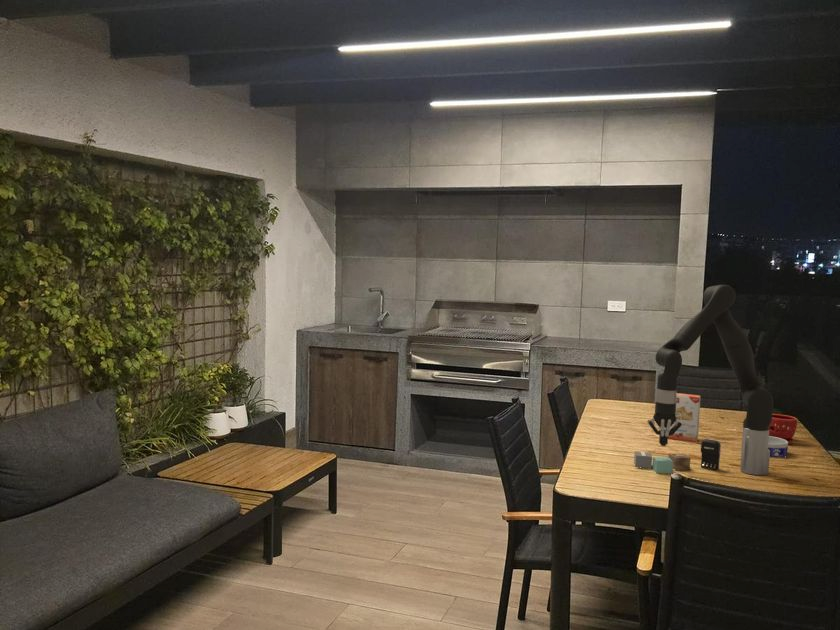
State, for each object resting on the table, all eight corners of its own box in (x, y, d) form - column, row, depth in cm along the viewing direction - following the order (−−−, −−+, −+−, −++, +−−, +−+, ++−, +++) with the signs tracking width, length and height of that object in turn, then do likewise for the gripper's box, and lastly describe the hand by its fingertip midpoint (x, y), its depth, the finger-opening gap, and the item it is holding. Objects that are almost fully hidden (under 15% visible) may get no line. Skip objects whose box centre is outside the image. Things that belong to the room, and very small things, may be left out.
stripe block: (649, 465, 280) (650, 452, 280) (651, 469, 275) (652, 456, 274) (633, 463, 282) (634, 451, 281) (635, 468, 276) (635, 455, 275)
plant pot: (799, 446, 316) (801, 420, 315) (768, 444, 319) (769, 418, 318) (790, 439, 329) (792, 414, 328) (760, 437, 332) (761, 412, 331)
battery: (698, 467, 278) (700, 439, 277) (701, 465, 281) (703, 437, 280) (716, 471, 274) (718, 442, 273) (720, 469, 277) (721, 440, 276)
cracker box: (664, 438, 324) (666, 393, 323) (666, 435, 330) (668, 391, 328) (696, 442, 318) (699, 397, 316) (698, 440, 323) (700, 395, 322)
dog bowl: (765, 459, 295) (766, 444, 294) (739, 449, 309) (740, 435, 309) (795, 457, 299) (796, 443, 298) (768, 447, 313) (769, 434, 313)
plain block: (668, 469, 274) (668, 457, 274) (672, 474, 269) (673, 461, 268) (652, 469, 275) (652, 456, 275) (656, 473, 269) (656, 460, 269)
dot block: (682, 466, 280) (683, 453, 280) (689, 470, 274) (690, 457, 274) (668, 466, 280) (668, 453, 279) (675, 470, 274) (675, 457, 274)
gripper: (680, 399, 273) (677, 444, 274) (645, 398, 274) (643, 442, 275) (686, 403, 266) (683, 449, 267) (650, 402, 267) (647, 447, 268)
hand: (663, 445), depth 271 cm, fingers closed
